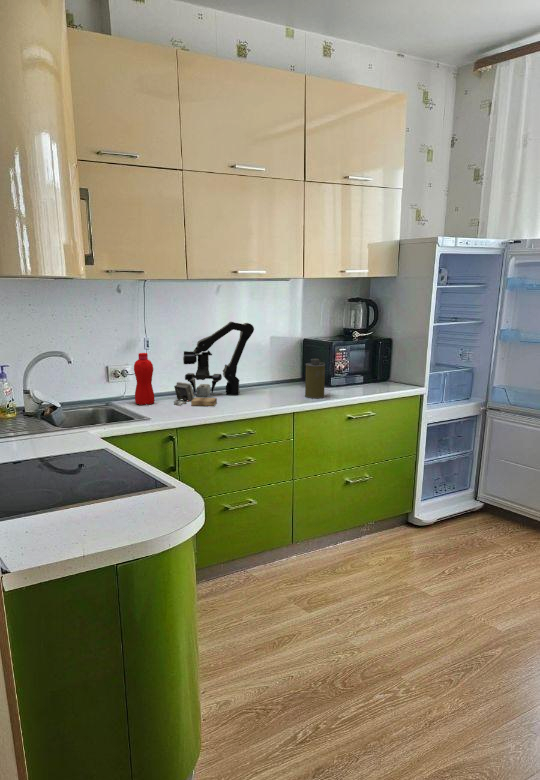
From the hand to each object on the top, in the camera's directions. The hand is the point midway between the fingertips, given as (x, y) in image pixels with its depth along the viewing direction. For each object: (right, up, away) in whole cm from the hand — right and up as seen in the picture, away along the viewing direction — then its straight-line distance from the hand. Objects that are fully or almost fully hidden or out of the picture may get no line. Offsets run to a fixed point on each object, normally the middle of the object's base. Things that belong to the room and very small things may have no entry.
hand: (203, 392), depth 292 cm
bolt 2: (-8, -5, -21) cm, 23 cm away
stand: (+3, -6, -22) cm, 23 cm away
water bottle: (-27, -5, -19) cm, 33 cm away
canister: (+59, -2, -1) cm, 59 cm away
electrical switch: (-8, -4, -12) cm, 15 cm away
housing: (0, -1, 0) cm, 1 cm away
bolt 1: (-9, -6, -24) cm, 26 cm away
